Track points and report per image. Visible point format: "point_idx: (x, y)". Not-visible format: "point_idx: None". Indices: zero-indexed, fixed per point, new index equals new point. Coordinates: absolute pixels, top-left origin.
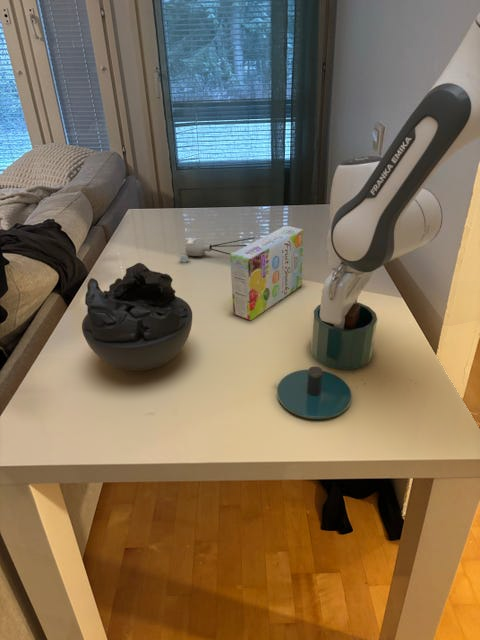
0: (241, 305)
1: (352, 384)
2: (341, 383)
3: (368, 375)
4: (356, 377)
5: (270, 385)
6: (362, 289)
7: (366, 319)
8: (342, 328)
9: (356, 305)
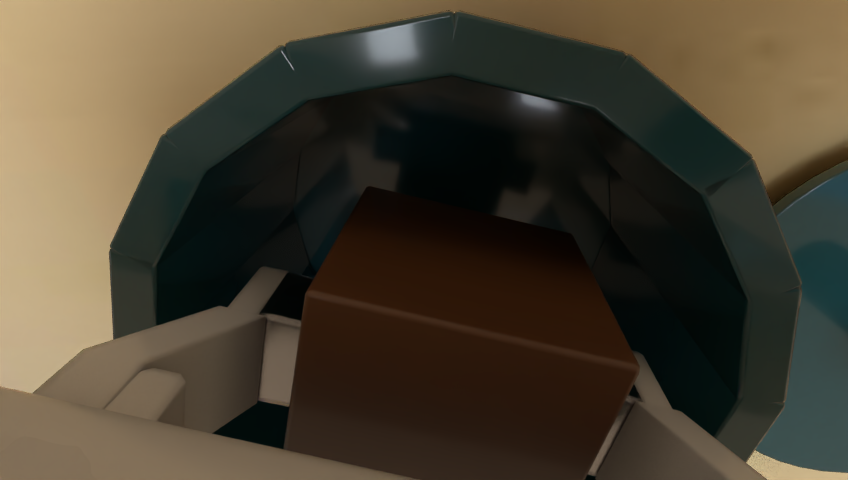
0: None
1: (778, 124)
2: (843, 199)
3: (679, 27)
4: (704, 104)
5: (776, 476)
6: (34, 440)
7: (285, 122)
8: (644, 366)
9: (336, 342)
